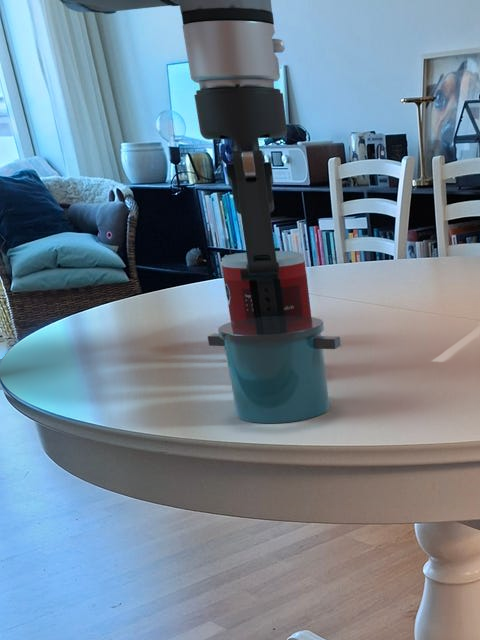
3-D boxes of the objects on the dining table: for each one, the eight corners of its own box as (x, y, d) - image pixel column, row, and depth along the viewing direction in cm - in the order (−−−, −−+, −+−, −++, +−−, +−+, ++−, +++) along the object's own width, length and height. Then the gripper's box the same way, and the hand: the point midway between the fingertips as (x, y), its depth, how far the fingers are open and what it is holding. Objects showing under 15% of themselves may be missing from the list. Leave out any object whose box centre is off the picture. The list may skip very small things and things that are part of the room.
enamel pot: (324, 427, 71) (313, 336, 67) (198, 421, 74) (181, 333, 70) (363, 399, 78) (355, 316, 75) (246, 395, 81) (233, 314, 77)
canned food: (279, 362, 92) (263, 249, 87) (334, 370, 88) (321, 252, 83) (222, 377, 87) (202, 258, 81) (279, 387, 83) (261, 262, 77)
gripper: (287, 76, 66) (320, 365, 76) (277, 92, 87) (304, 316, 97) (184, 78, 64) (232, 372, 75) (199, 93, 85) (235, 321, 96)
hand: (273, 341), depth 86 cm, fingers open, 13 cm apart
